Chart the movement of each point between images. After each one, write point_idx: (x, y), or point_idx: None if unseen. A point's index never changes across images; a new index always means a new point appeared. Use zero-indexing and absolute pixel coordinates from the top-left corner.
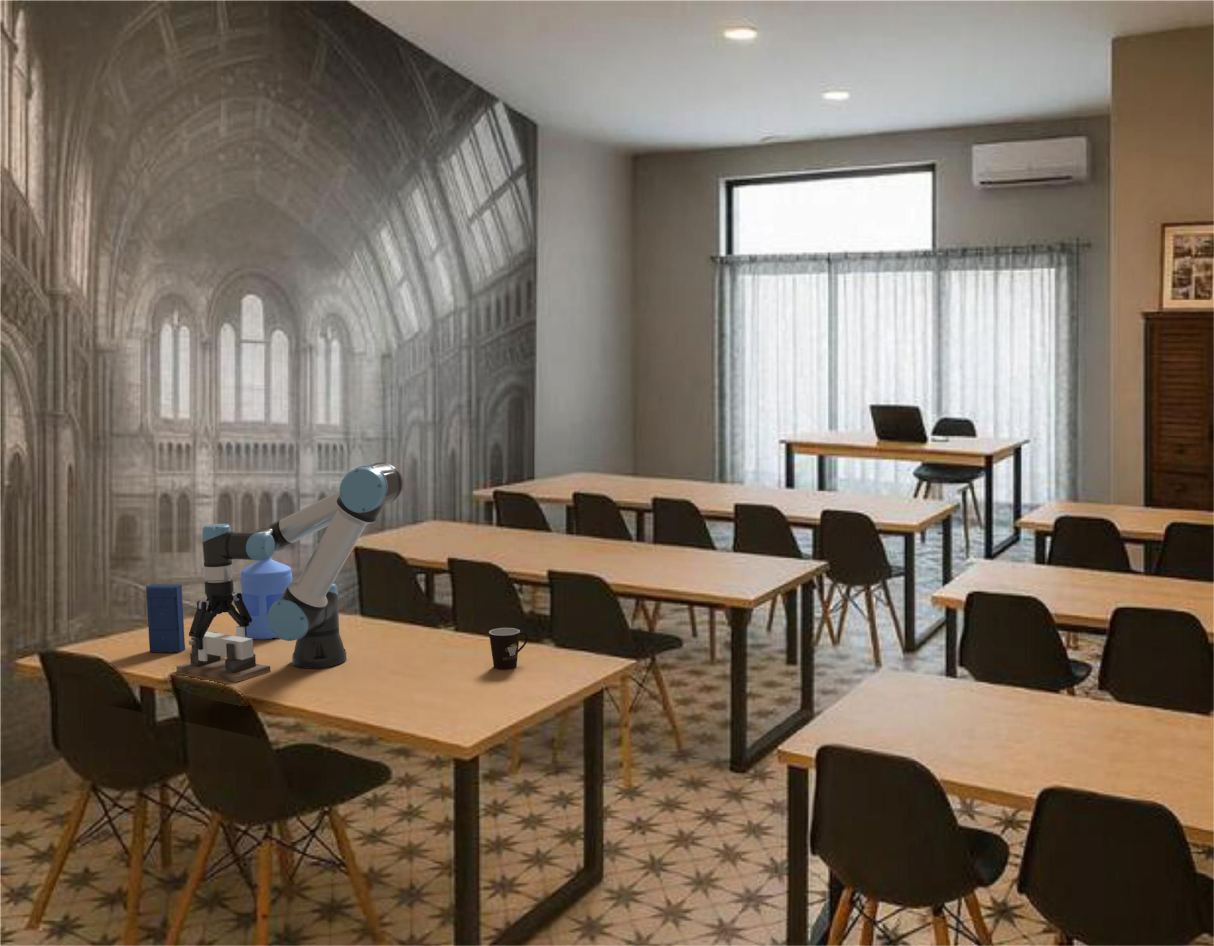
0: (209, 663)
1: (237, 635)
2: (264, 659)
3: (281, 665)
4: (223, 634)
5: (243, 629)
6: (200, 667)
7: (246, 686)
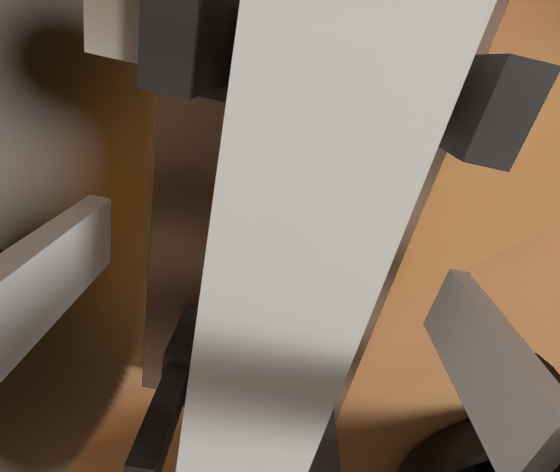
0: None
1: (495, 351)
2: (541, 284)
3: (431, 395)
4: (347, 345)
5: (501, 467)
6: (209, 109)
7: (127, 415)
